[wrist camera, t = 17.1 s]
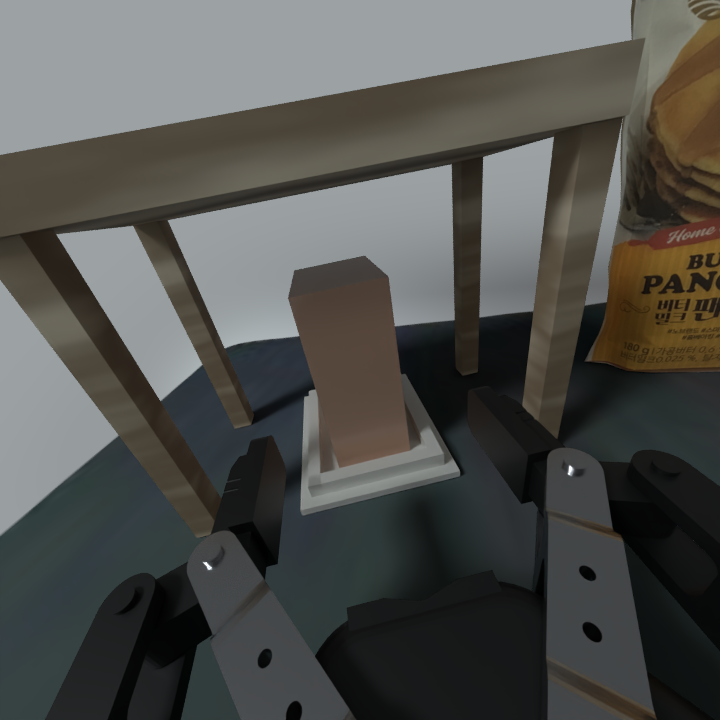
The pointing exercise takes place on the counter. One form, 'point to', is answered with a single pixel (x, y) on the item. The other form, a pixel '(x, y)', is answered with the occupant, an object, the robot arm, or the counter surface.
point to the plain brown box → (352, 356)
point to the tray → (374, 477)
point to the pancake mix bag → (668, 199)
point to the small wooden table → (302, 175)
